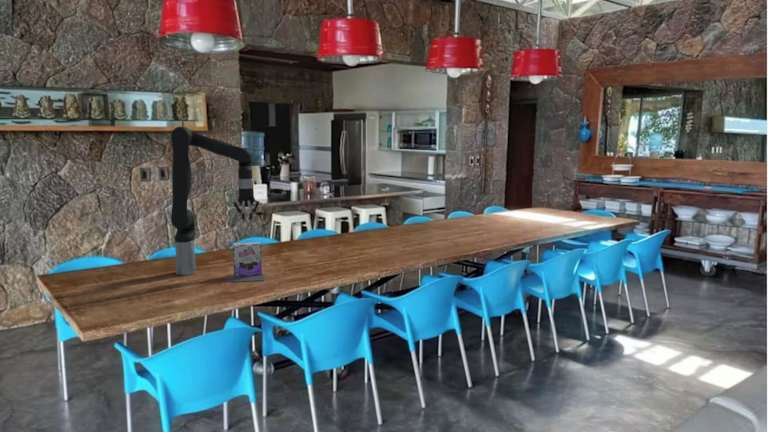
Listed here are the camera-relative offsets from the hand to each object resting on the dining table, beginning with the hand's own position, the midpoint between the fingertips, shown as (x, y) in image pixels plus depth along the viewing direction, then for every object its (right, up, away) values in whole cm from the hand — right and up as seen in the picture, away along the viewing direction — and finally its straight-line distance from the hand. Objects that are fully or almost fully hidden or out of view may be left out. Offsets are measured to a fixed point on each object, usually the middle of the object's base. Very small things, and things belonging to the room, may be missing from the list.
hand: (247, 220), depth 280 cm
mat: (+3, -30, -12) cm, 32 cm away
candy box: (+1, -28, -4) cm, 29 cm away
